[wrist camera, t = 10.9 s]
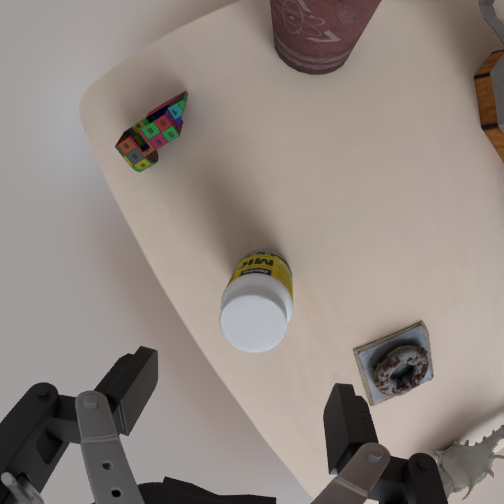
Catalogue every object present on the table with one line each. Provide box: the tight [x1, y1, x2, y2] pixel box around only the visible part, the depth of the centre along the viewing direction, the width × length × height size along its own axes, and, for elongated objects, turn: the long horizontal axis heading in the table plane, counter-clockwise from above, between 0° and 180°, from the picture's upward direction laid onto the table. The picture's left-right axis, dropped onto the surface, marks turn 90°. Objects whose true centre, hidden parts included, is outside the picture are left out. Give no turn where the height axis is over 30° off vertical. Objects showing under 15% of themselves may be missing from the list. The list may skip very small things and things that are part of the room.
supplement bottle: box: [219, 250, 293, 352], centre depth 21 cm, size 5×5×8 cm
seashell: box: [432, 425, 504, 499], centre depth 25 cm, size 10×9×25 cm
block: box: [115, 91, 188, 172], centre depth 22 cm, size 6×4×3 cm
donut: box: [354, 322, 433, 406], centre depth 25 cm, size 8×8×2 cm
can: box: [270, 0, 381, 74], centre depth 13 cm, size 6×6×14 cm
